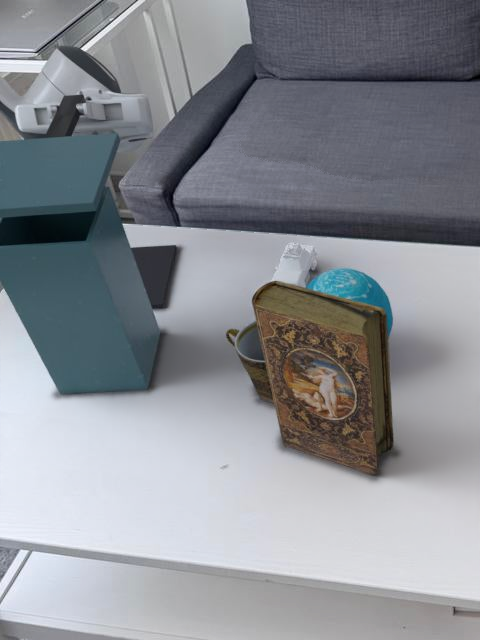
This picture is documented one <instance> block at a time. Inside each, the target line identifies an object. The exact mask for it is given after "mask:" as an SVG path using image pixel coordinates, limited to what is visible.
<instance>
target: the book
mask: <svg viewBox="0 0 480 640" xmlns="http://www.w3.org/2000/svg"><path fill="white" fill-rule="evenodd" d="M271 281H272V280H271ZM271 281H269V282H266V283H265V284H264V285H262V286H261V287H259V288H258V289H257V290H256V291H255V292H254V293H253V296H252V297H251V304H252V309H253V313H254V318H255V321H256V323H257V327H258V332H259V337H260V341H261V346H262V350H263V355H264V359H265V364H266V369H267V373H268V378H269V382H270V387H271V391H272V396H273V400H274V404H273V405H274V409H275V413H276V418H277V423H278V427H279V431H280V437H281V441H282V445H283V447H284V448H287V449H289V450H293V451H296V452H298V453H302V454H305V455H307V456H310V457H314V458H316V459H320V460H323V461H325V462H329V463H332V464H335V465H337V466H341V467H344V468H347V469H350V470H353V471H357V472H358V473H359V472H360V473H363V474H367V475H369V476H370V475H371V476H376V475H377V474H378V472H379V458H380V457H381V456H382V455H383V454H385V453H387V452H389V451H391V450H392V449H393V448H394V443H395V442H394V424H393V423H394V421H393V404H392V400H393V399H392V385H391V383H392V382H391V365H390V363H391V362H390V345H389V344H390V343H389V340H388V326H387V314H386V311H385V310H384V309H383V308H381V307H377V306H373V305H369V304H365V303H361V302H357V301H353V300H349V299H346V298H342V297H338V296H334V295H330V294H326V293H322V292H319V291H315V290H311V289H307V288H306V287H305V288H303V287H299V286H295V285H292V284H288V283H284V282H280V281H272V282H271Z"/></svg>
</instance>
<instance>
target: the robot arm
mask: <svg viewBox="0 0 480 640" xmlns="http://www.w3.org/2000/svg"><path fill="white" fill-rule="evenodd" d="M82 94H83V95H84V98H85V101H86V103H81V104H76V106H77V109H78V115H79V117H80V118H79V120H78V122H77V125H76V127H75V129H74V132H73V134H72V136H82V135H96V134H109V133H118V135H119V138H120V144H119V147H118V150H117V152H116V153H118V154H127V153H131V152H133V151H136V150H138V149H139V148H140V147H141V146H142V145H143V144H144V142H145V141H146V140H149V139H153V138H154V123H153V122H154V121H153V114H152V108H151V104H150V100H149V97H148V95H147V94H144V93H127V92H126V93H123V92H122V90H121V87H120V84H119V81H118V80H117V78H116V77H115V76H114V74H113V73H112V72H111V71H110V70H109V69H108V68H107V67H106V66H105V65H104V64H103V63H102V62H101V61H99V60H98V59H97V58H96V57H94V56H92V55H91V54H89V53H88V52H86V51H85V50H83V49H82V48H80V47H78V46H73V45H58V46H57V47H56V48H55V50H54V51H53V52H52V53H51V55H50V56H49V58H48V59H47V61H46V62H45V63H44V65H43V66H42V68H41V70H40V72H39V73H38V75H37V76H36V78H35V79H34V81H33V82H32V84H31V85H30V86H29V88H28V90H27V91H26V92H25V93H24V94H22V95H20V94H18V93H17V91H15V90H14V88H13V87H12V86H11V85H10V84H9V83H8V82H7V80H6V79H5V78H4V77H3V76H2V75H1V74H0V114H1V115H2V116H3V117H4V119H5V120H6V121H7V122H8V123H9V124H10V125H11V127H12V128H13V129H14V130H15V132H16V133H17V134H18V135H19V137H20V138H21V140H26V139H40V138H44V137H45V135H46V133H47V131H48V128H49V126H50V124H51V122H52V120H53V118H54V116H55V114H56V111H57V109H58V107H59V105H60V103H61V101H62V99H63V97H64V96H68V95H82Z"/></svg>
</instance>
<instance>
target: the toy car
mask: <svg viewBox="0 0 480 640" xmlns="http://www.w3.org/2000/svg"><path fill="white" fill-rule="evenodd" d="M317 255H318V252H317V251H316V247H315V246H314V245H308V244H301V243H299V242H293V241H291V242H290V243H287V245H286V246H285V248H284V251H283V253H282V255H281V257H280V260H279V263H278V266H274V270H276V271H275V273H274V275H273V277H272V278H271V281H270V282H272V281H280V282H284V283H288V284H292V285H295V286H299V287H303V288H306V286H307V285H308V284H309V281H310V278H311V277H310V272H309V271H310V270H311V271H315V270H316V267H317V265H318V262H317V259H316V258H315V257H317Z"/></svg>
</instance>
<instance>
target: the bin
mask: <svg viewBox="0 0 480 640" xmlns="http://www.w3.org/2000/svg"><path fill="white" fill-rule="evenodd" d="M122 221H123V220H122V219H121V216H120V214H119V210H118V208H117V204H116V202H115V198H114V196H113V193H112V189H111V187H110V186H105V187H104V190H103V193H102V196H101V199H100V202H99V205H98V208H97V211H89V212H75V213H61V214H47V215H32V216H18V217H4V218H0V284H1V286H2V287H3V290H4V291H5V293H6V295H7V297H8V299H9V301H10V302H11V305H12V307H13V308H14V310H15V312H16V314H17V316H18V318H19V319H20V321H21V324H22V325H23V327H24V329H25V331H26V333H27V334H28V337H29V338H30V341H31V342H32V344H33V346H34V348H35V350H36V352H37V353H38V356H39V358H40V360H41V362H42V364H43V365H44V367H45V369H46V371H47V372H48V375H49V376H50V378H51V380H52V382H53V384H54V386H55V388H56V390H57V392H58V393H59V395H73V394H90V393H92V394H93V393H109V392H110V393H111V392H125V391H144V390H148V389H149V385H150V381H151V377H152V372H153V368H154V363H155V359H156V354H157V350H158V346H159V341H160V336H161V329H160V327H159V325H158V324H159V323H158V321H157V318H156V316H155V312H154V310H153V309H154V308H152V307H151V304H150V301H149V298H148V295H147V292H146V290H145V287H144V284H143V281H142V278H141V275H140V272H139V270H138V267H137V264H136V261H135V258H134V255H133V253H132V250H131V248H132V247H131V244H130V242H129V239H128V236H127V233H126V230H125V227H124V224H123V222H122Z"/></svg>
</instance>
